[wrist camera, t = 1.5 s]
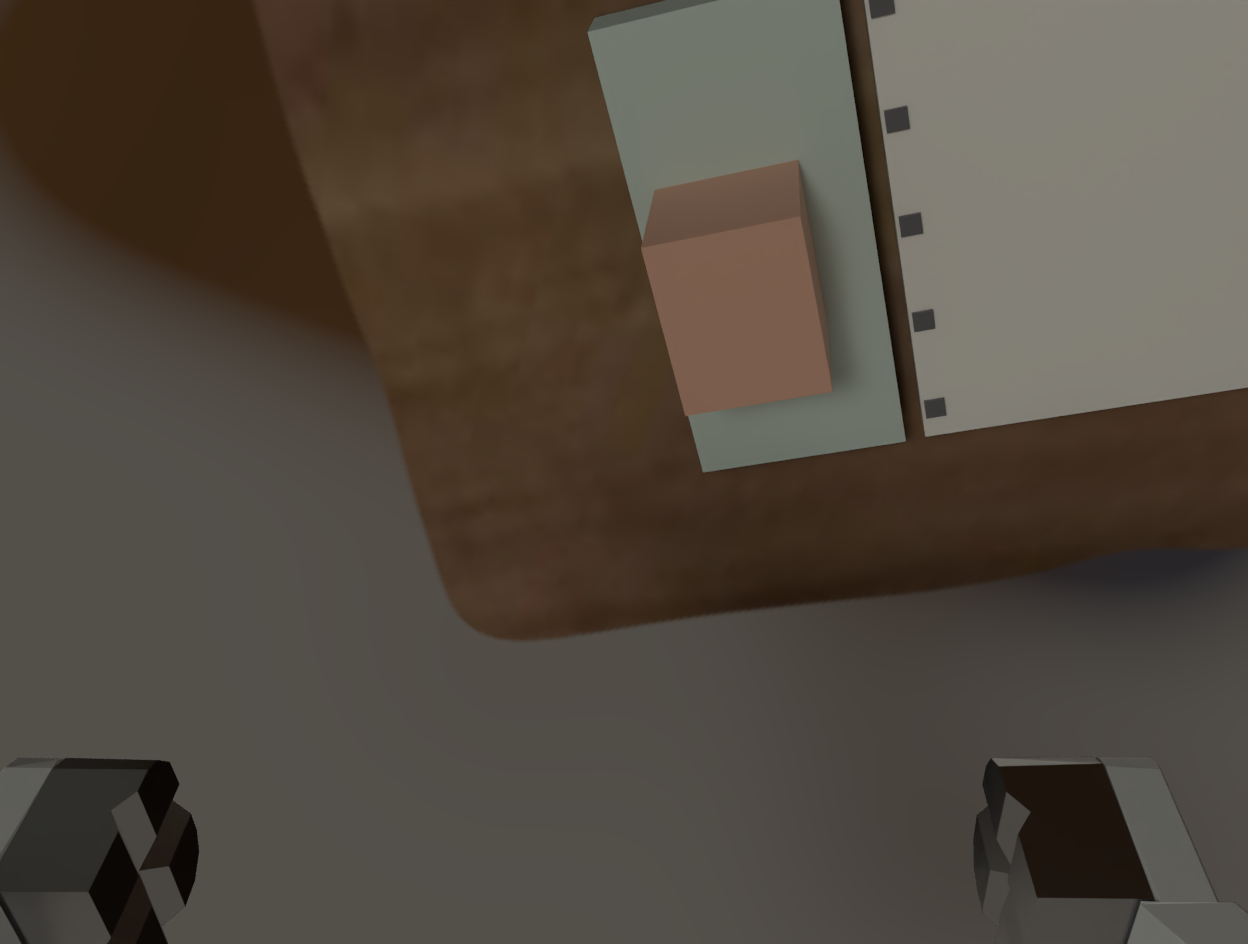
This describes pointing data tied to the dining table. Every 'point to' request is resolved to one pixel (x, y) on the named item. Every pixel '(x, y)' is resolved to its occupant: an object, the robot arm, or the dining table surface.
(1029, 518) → the dining table surface
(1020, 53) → the board
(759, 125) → the green slab pink block
